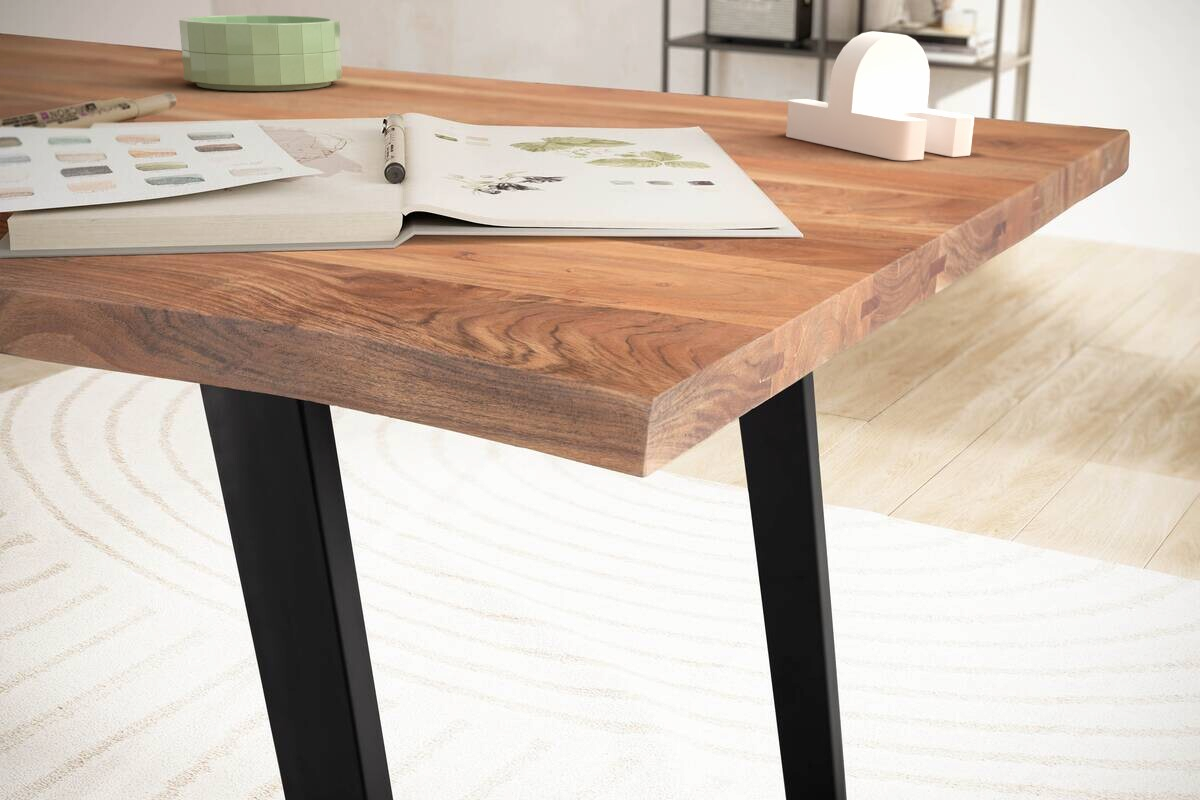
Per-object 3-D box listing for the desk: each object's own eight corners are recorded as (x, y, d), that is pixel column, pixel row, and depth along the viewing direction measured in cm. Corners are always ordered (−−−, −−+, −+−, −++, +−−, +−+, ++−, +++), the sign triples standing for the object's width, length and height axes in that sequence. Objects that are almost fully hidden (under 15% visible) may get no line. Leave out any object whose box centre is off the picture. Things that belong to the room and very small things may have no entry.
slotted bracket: (975, 155, 88) (989, 38, 86) (898, 161, 85) (910, 39, 82) (853, 130, 99) (862, 26, 96) (781, 135, 96) (788, 27, 93)
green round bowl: (214, 95, 113) (209, 25, 111) (165, 80, 125) (159, 16, 123) (366, 88, 121) (363, 22, 119) (306, 74, 133) (303, 14, 131)
